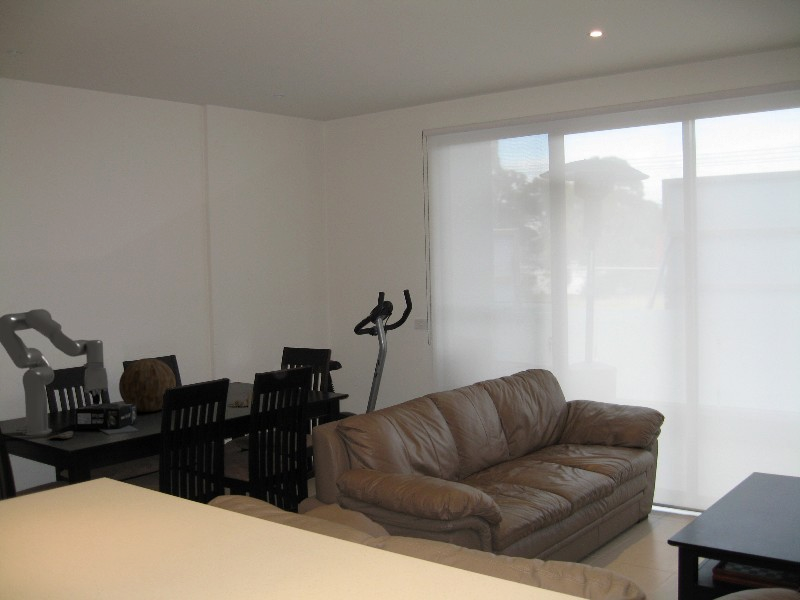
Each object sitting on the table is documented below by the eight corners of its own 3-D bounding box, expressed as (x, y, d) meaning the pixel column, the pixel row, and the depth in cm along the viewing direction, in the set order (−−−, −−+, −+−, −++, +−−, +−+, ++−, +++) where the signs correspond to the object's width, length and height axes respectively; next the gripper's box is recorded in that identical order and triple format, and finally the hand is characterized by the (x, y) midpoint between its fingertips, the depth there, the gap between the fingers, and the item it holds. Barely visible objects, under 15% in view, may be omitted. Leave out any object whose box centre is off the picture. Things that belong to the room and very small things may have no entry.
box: (120, 429, 381) (137, 422, 400) (120, 408, 381) (137, 403, 400) (74, 428, 383) (93, 422, 402) (74, 408, 383) (93, 403, 402)
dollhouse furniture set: (245, 404, 455) (244, 386, 455) (261, 406, 447) (260, 387, 447) (228, 408, 445) (227, 388, 445) (244, 409, 437) (243, 390, 437)
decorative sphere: (163, 417, 417) (161, 360, 417) (110, 417, 421) (108, 361, 420) (185, 407, 447) (183, 355, 447) (135, 408, 451) (133, 356, 450)
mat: (108, 434, 370) (108, 433, 370) (95, 427, 390) (95, 426, 390) (138, 431, 378) (138, 429, 378) (123, 424, 398) (123, 423, 398)
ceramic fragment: (63, 436, 359) (47, 432, 363) (62, 443, 359) (47, 438, 364) (81, 432, 369) (66, 428, 373) (81, 438, 369) (66, 434, 373)
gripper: (80, 367, 371) (82, 406, 371) (113, 365, 379) (114, 402, 380) (76, 366, 377) (78, 404, 377) (109, 363, 386) (110, 401, 386)
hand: (96, 403), depth 379 cm, fingers closed
